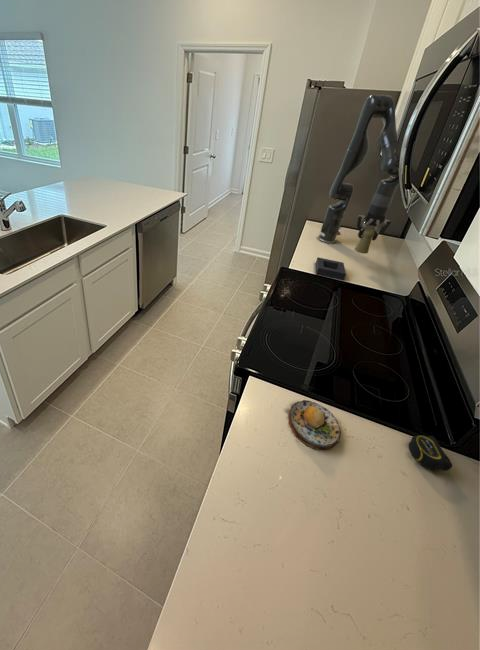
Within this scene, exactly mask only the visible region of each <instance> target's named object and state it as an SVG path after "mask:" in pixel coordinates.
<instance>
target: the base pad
mask: <svg viewBox="0 0 480 650" xmlns="http://www.w3.org/2000/svg"><path fill="white" fill-rule="evenodd" d="M315 275H318V276H322V277H327V278H331V279H334V280H339V281H344V280H345V278H346V276H347V272H346V268H345V263H344V262H342V261H337V260H333V259H329V258H323V257H316V261H315Z"/></svg>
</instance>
